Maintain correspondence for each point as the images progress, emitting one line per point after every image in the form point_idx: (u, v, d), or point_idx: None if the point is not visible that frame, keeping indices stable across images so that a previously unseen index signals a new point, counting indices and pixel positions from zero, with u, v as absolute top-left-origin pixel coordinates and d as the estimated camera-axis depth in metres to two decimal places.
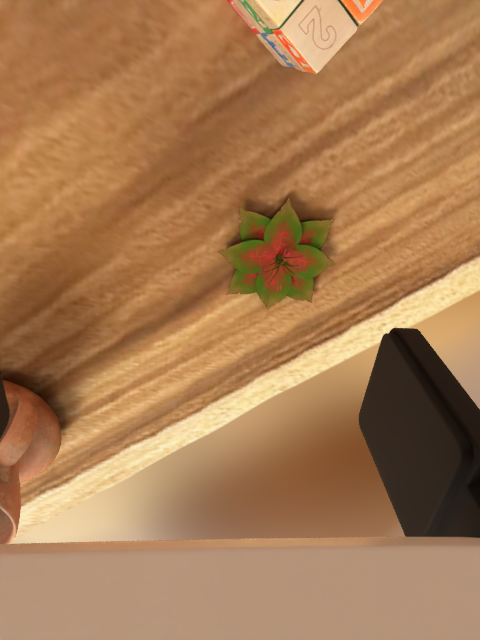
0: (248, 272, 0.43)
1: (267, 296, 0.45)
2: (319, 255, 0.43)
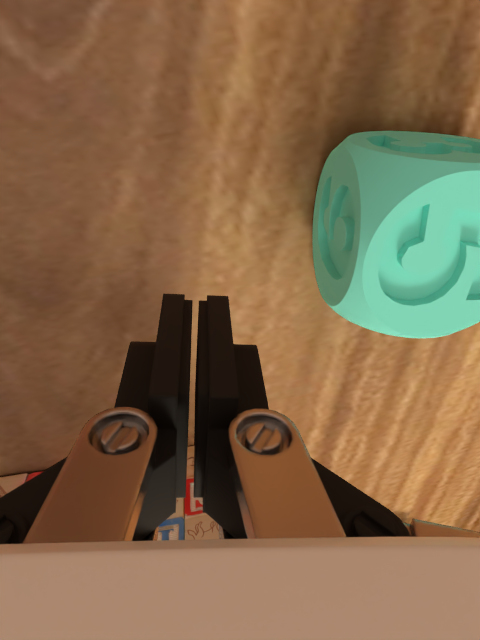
0: None
1: None
2: None
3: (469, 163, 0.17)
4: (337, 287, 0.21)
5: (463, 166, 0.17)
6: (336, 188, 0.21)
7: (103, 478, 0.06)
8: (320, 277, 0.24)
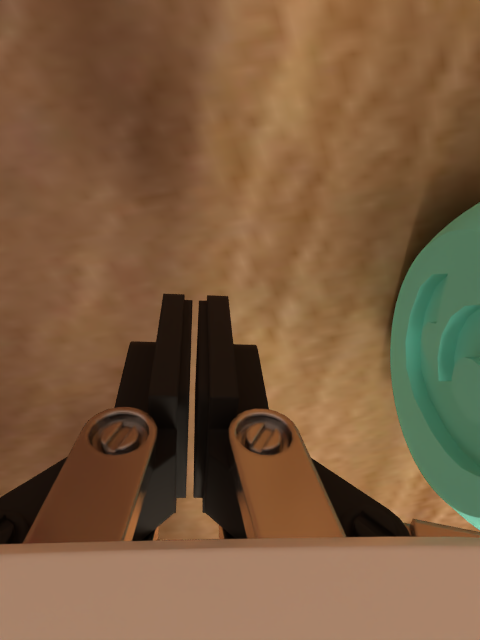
0: None
1: None
2: None
3: None
4: (464, 484, 0.12)
5: None
6: (462, 303, 0.12)
7: (103, 478, 0.06)
8: (411, 427, 0.15)
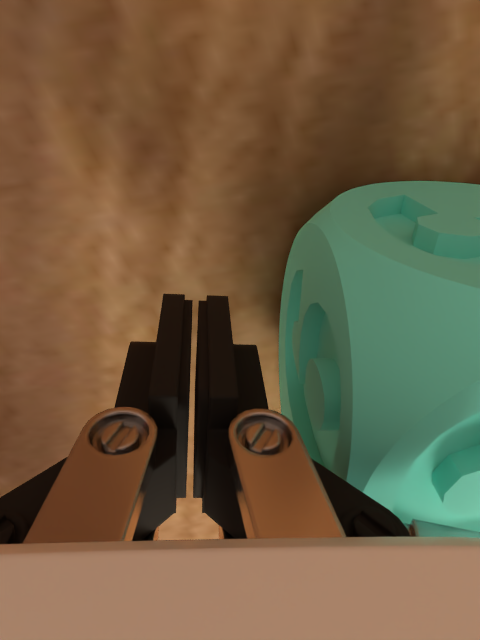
0: None
1: None
2: None
3: None
4: None
5: None
6: (309, 301, 0.11)
7: (103, 478, 0.06)
8: None
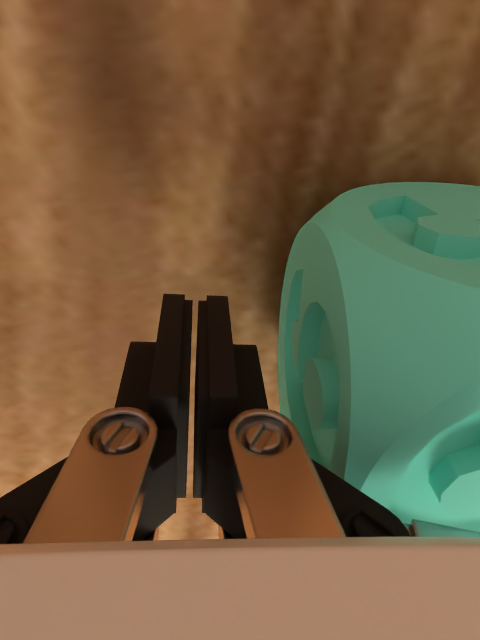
0: None
1: None
2: None
3: None
4: None
5: None
6: (309, 301, 0.11)
7: (103, 478, 0.06)
8: None
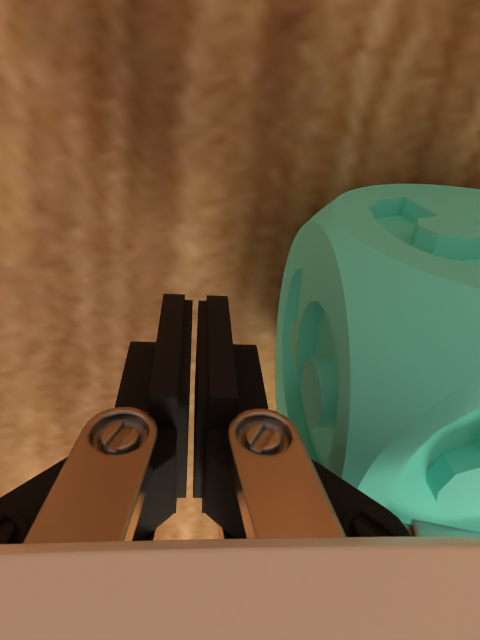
0: None
1: None
2: None
3: None
4: None
5: None
6: (309, 299, 0.11)
7: (103, 478, 0.06)
8: None
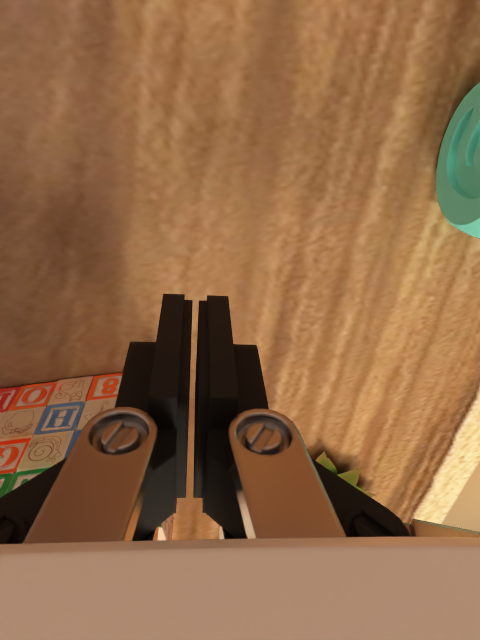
0: None
1: None
2: (341, 475, 0.42)
3: None
4: (477, 205, 0.24)
5: None
6: None
7: (103, 478, 0.06)
8: (448, 204, 0.27)
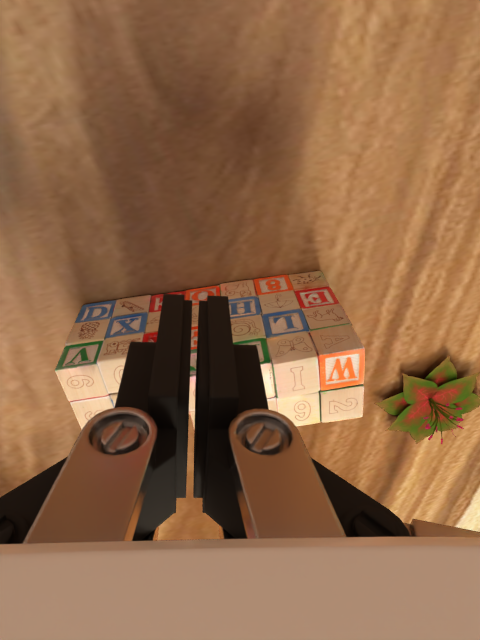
0: (419, 426, 0.49)
1: (448, 424, 0.49)
2: (461, 380, 0.46)
3: None
4: None
5: None
6: None
7: (103, 478, 0.06)
8: None
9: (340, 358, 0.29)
